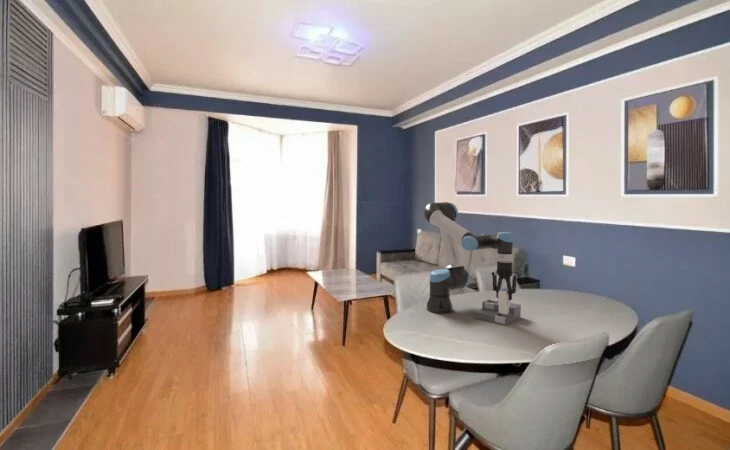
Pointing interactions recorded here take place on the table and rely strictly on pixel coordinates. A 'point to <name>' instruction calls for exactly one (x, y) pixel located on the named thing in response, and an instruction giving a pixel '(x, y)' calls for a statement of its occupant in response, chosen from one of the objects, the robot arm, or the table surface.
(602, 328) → the table surface
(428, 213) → the robot arm
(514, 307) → the grey socket holder
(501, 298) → the cream long block
